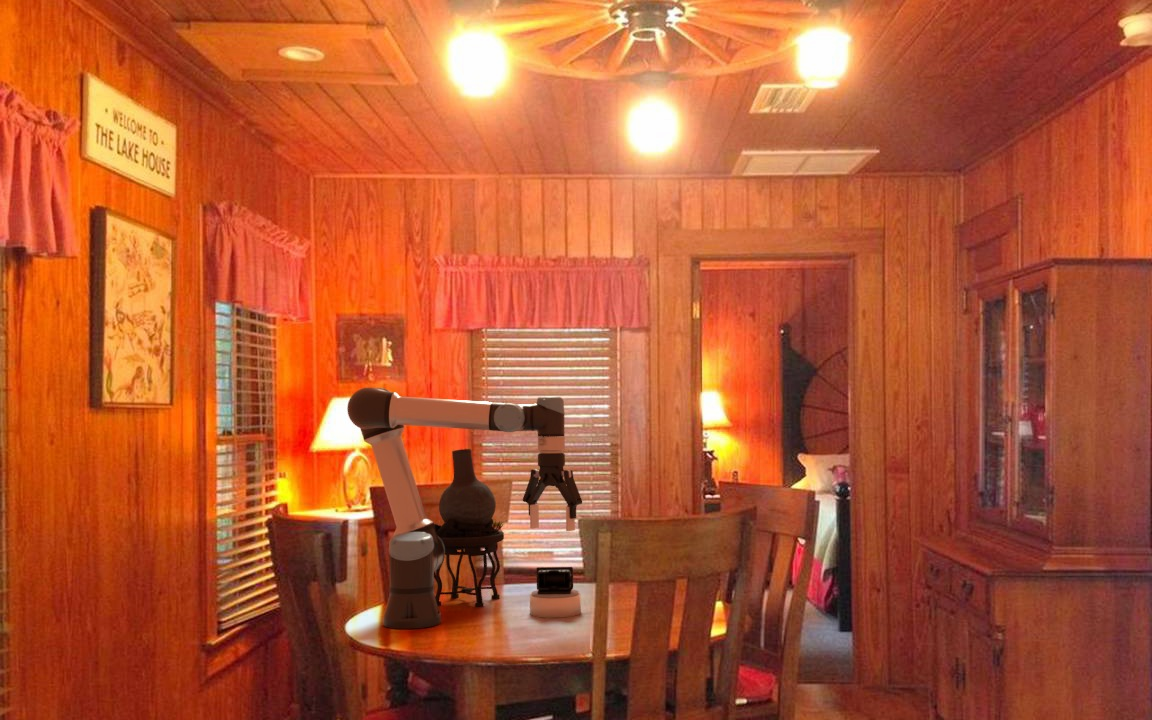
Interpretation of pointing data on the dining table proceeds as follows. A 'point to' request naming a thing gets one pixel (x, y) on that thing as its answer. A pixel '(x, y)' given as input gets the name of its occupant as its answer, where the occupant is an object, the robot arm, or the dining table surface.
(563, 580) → the end cap
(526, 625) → the dining table surface
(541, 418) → the robot arm
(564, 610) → the stand
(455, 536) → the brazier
